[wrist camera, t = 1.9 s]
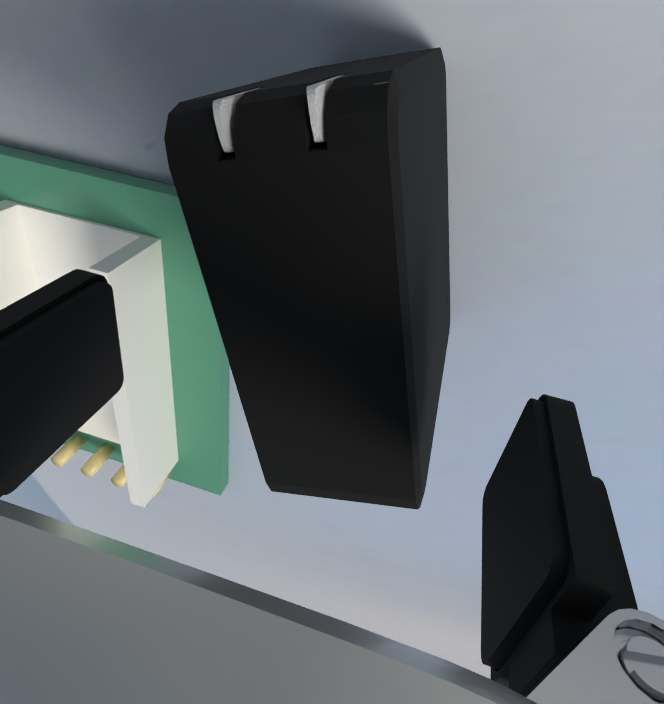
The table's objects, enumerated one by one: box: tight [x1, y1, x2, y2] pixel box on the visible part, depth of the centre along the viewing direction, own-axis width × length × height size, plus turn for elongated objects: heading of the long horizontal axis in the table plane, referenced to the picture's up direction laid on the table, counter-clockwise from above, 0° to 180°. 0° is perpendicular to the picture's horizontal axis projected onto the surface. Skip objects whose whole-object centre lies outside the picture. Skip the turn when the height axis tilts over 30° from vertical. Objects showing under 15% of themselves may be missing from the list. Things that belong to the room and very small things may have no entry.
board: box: [0, 145, 229, 507], centre depth 24 cm, size 18×13×4 cm
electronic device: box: [164, 48, 450, 509], centre depth 14 cm, size 4×10×10 cm, turn 9°
